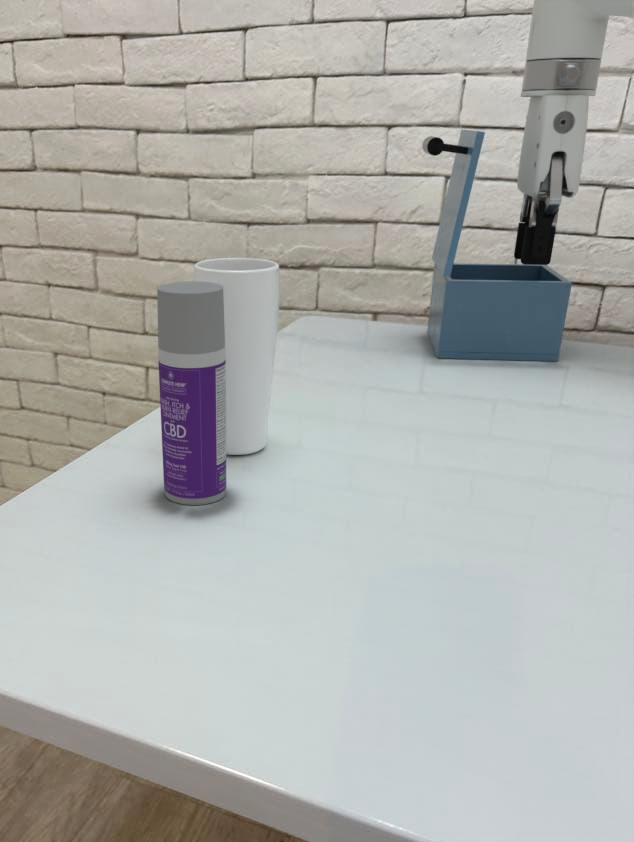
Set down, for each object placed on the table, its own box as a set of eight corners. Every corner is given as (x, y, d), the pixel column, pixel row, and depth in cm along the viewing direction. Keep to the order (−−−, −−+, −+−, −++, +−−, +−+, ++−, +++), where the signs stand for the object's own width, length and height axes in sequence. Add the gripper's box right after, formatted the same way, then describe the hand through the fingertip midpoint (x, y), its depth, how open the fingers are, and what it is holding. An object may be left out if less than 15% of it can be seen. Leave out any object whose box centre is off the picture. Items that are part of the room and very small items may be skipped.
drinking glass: (183, 454, 69) (178, 268, 62) (215, 429, 74) (213, 255, 67) (259, 465, 66) (262, 273, 59) (286, 438, 72) (291, 260, 65)
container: (157, 503, 60) (147, 292, 53) (172, 478, 64) (164, 280, 57) (220, 507, 59) (218, 294, 52) (231, 482, 63) (230, 281, 56)
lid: (468, 130, 96) (423, 124, 96) (485, 132, 84) (435, 125, 85) (438, 259, 102) (396, 253, 103) (450, 276, 91) (403, 270, 92)
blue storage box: (534, 335, 105) (546, 264, 101) (557, 361, 94) (572, 282, 90) (427, 333, 107) (434, 263, 103) (437, 358, 96) (446, 280, 92)
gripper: (620, 77, 79) (583, 274, 88) (576, 83, 94) (548, 251, 102) (540, 78, 80) (511, 272, 89) (509, 84, 95) (486, 251, 103)
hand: (531, 259), depth 95 cm, fingers open, 3 cm apart
